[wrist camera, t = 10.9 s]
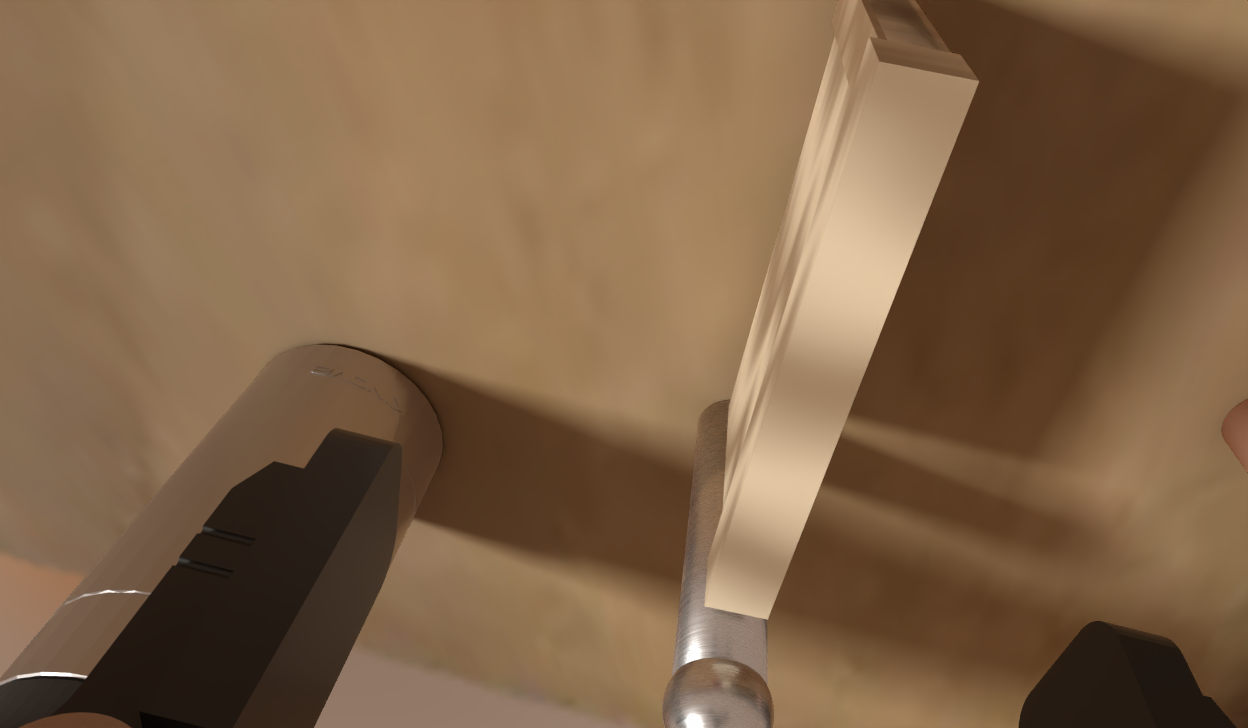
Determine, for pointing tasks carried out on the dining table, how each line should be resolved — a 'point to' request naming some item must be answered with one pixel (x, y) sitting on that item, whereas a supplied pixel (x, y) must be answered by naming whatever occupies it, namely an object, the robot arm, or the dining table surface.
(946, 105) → the light wood flat panel
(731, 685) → the hinge post
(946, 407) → the dining table surface
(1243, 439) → the post
